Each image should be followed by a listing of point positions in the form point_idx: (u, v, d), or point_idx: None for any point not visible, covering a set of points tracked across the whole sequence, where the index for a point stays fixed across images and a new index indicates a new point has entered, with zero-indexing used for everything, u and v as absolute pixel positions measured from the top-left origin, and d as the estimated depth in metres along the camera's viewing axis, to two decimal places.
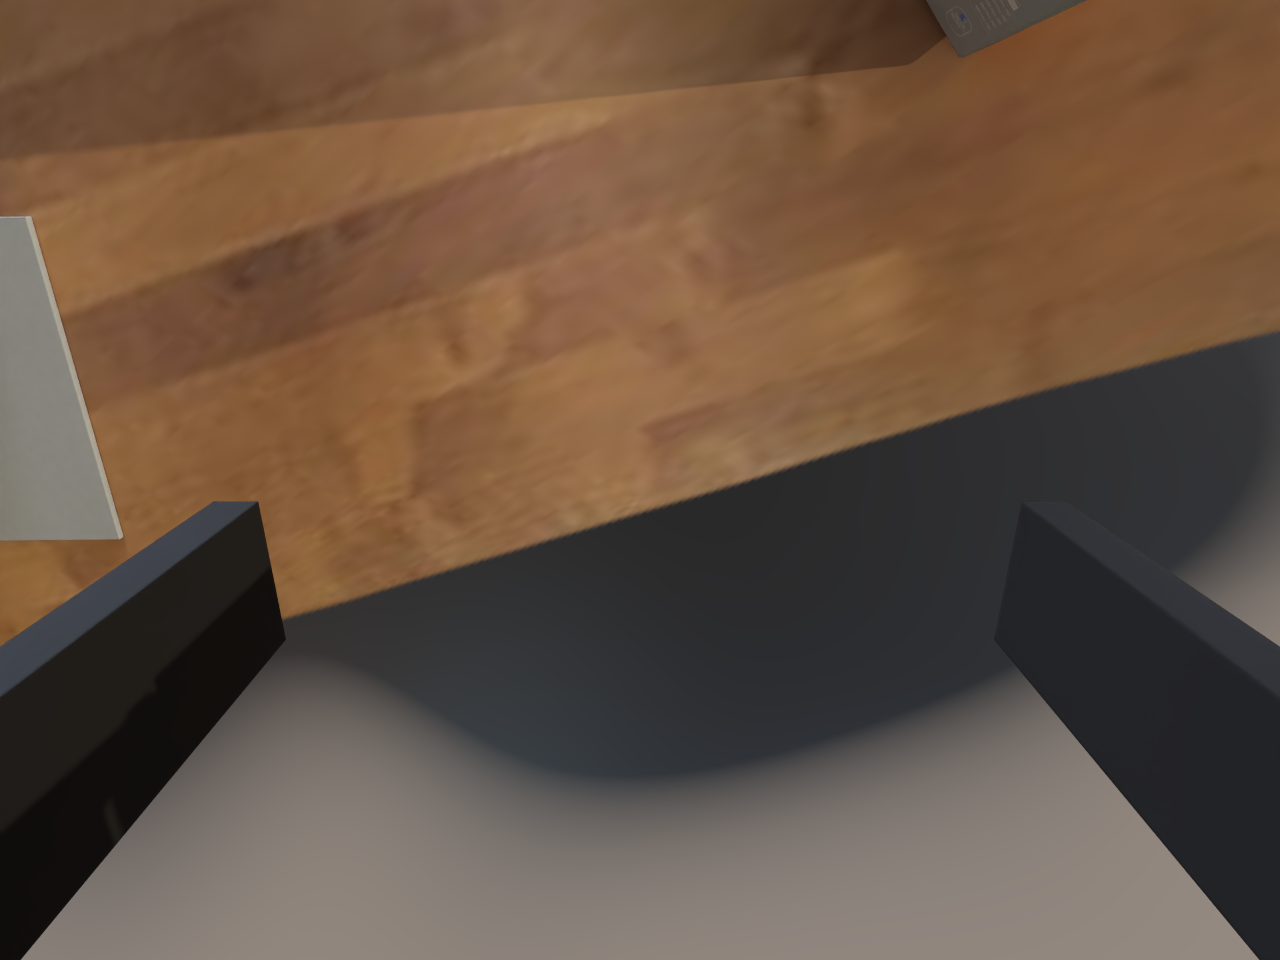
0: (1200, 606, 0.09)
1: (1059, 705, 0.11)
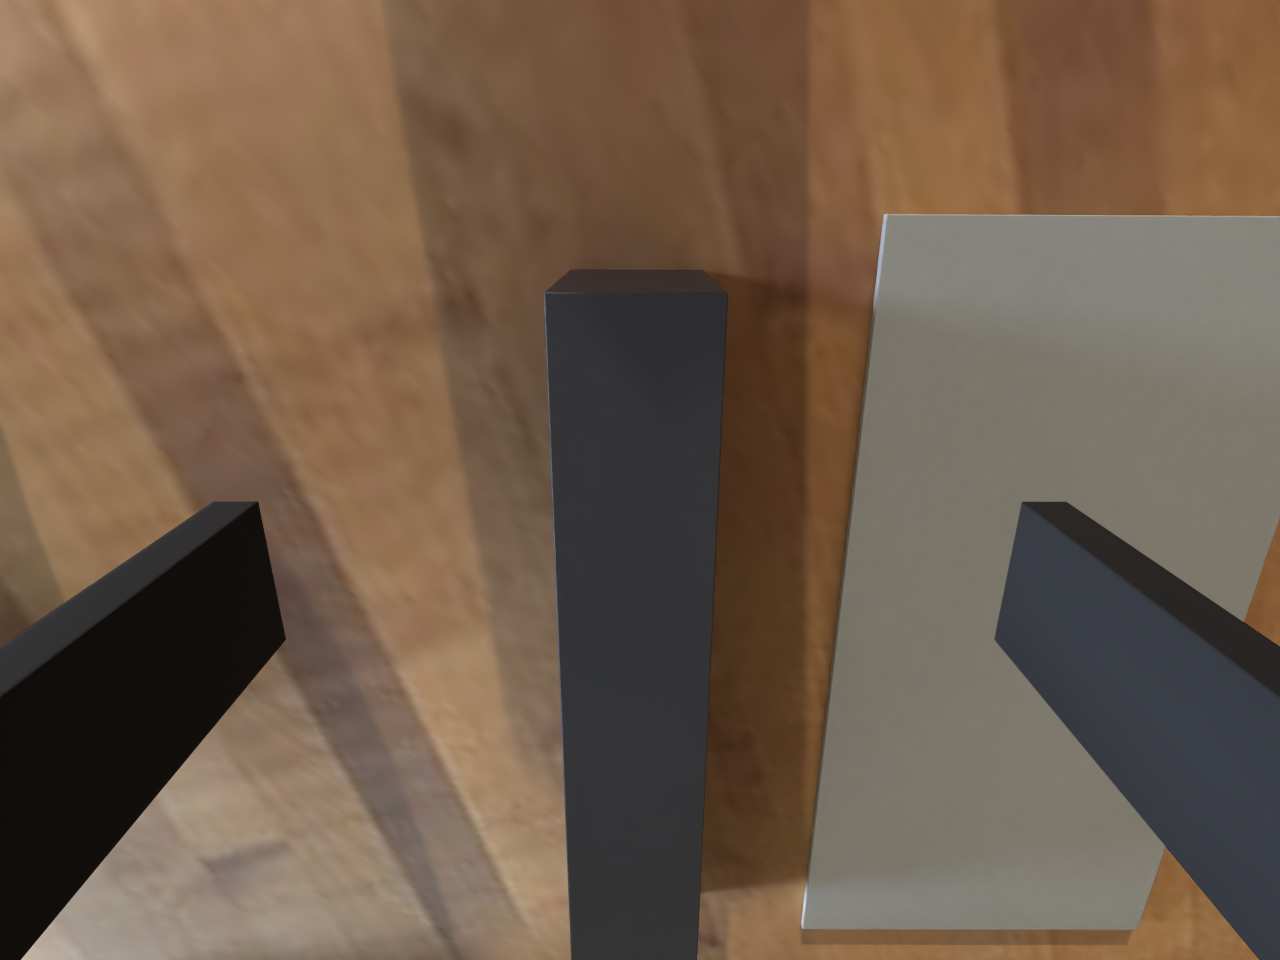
0: (1200, 606, 0.09)
1: (1059, 705, 0.11)
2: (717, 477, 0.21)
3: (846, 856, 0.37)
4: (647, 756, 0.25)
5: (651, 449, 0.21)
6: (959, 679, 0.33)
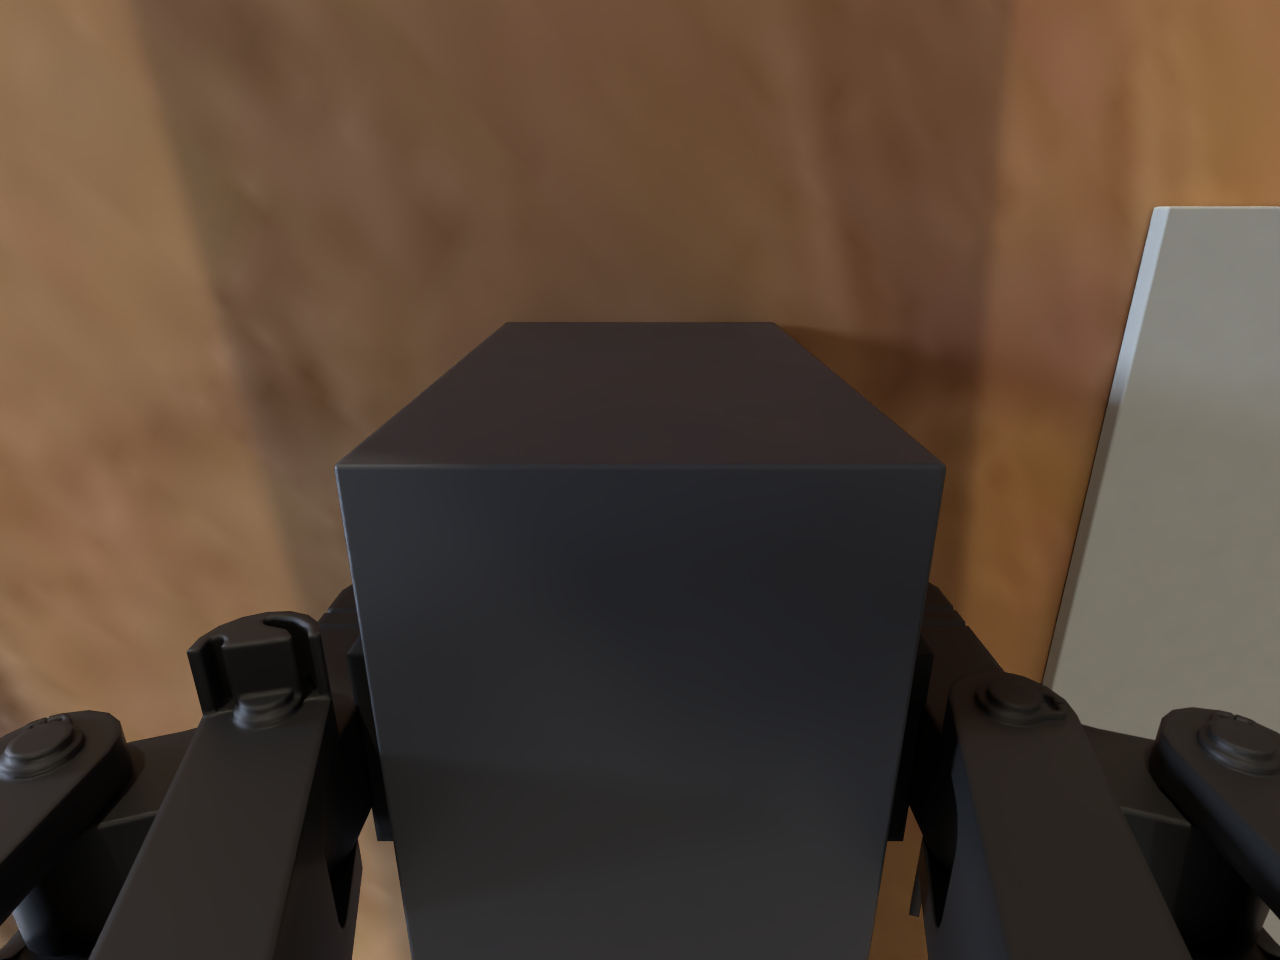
0: None
1: None
2: (867, 934, 0.08)
3: None
4: None
5: (686, 876, 0.07)
6: None
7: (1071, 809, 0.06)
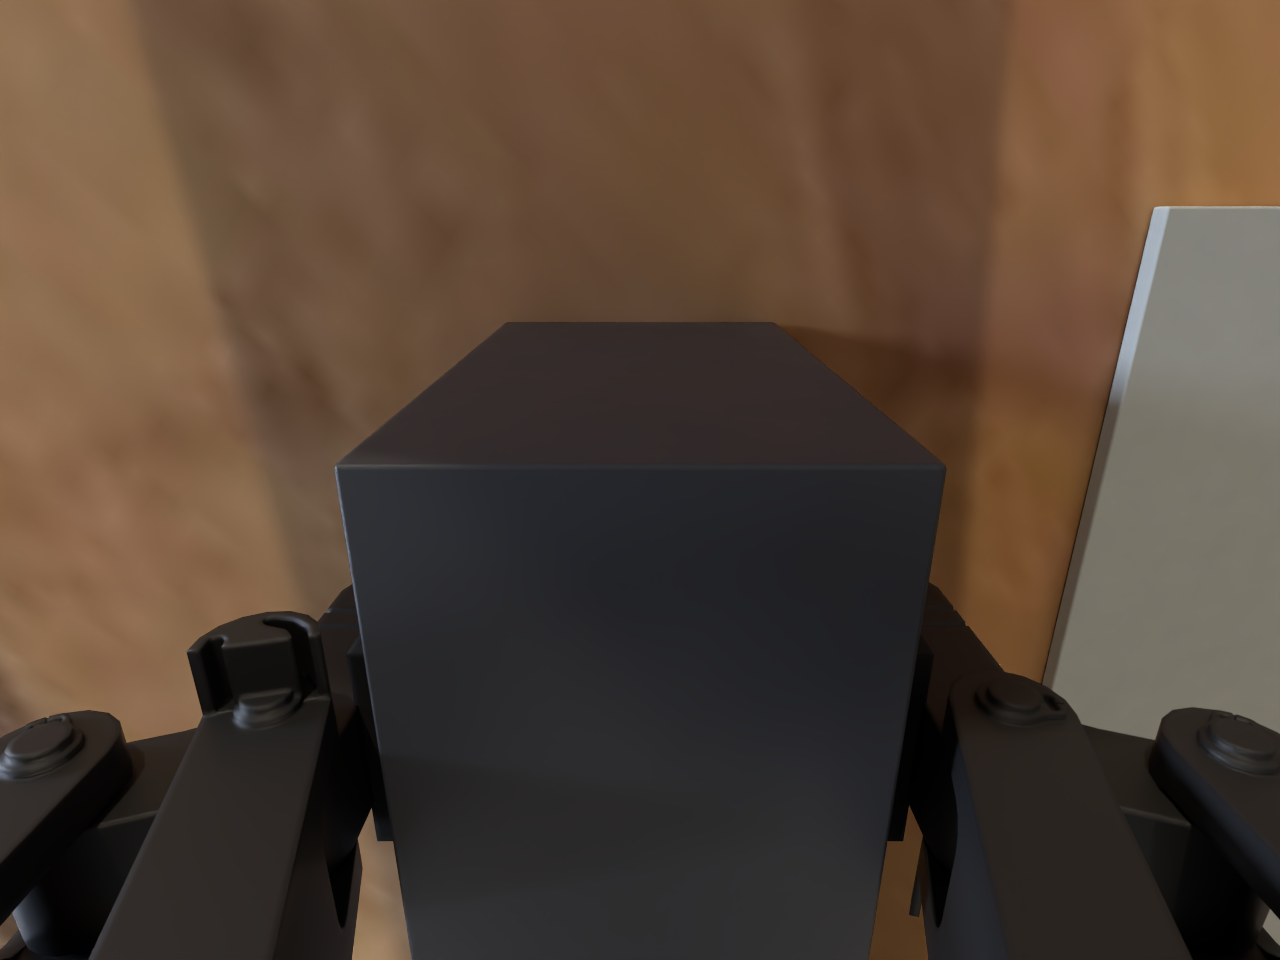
0: None
1: None
2: (867, 934, 0.08)
3: None
4: None
5: (686, 876, 0.07)
6: None
7: (1072, 809, 0.06)
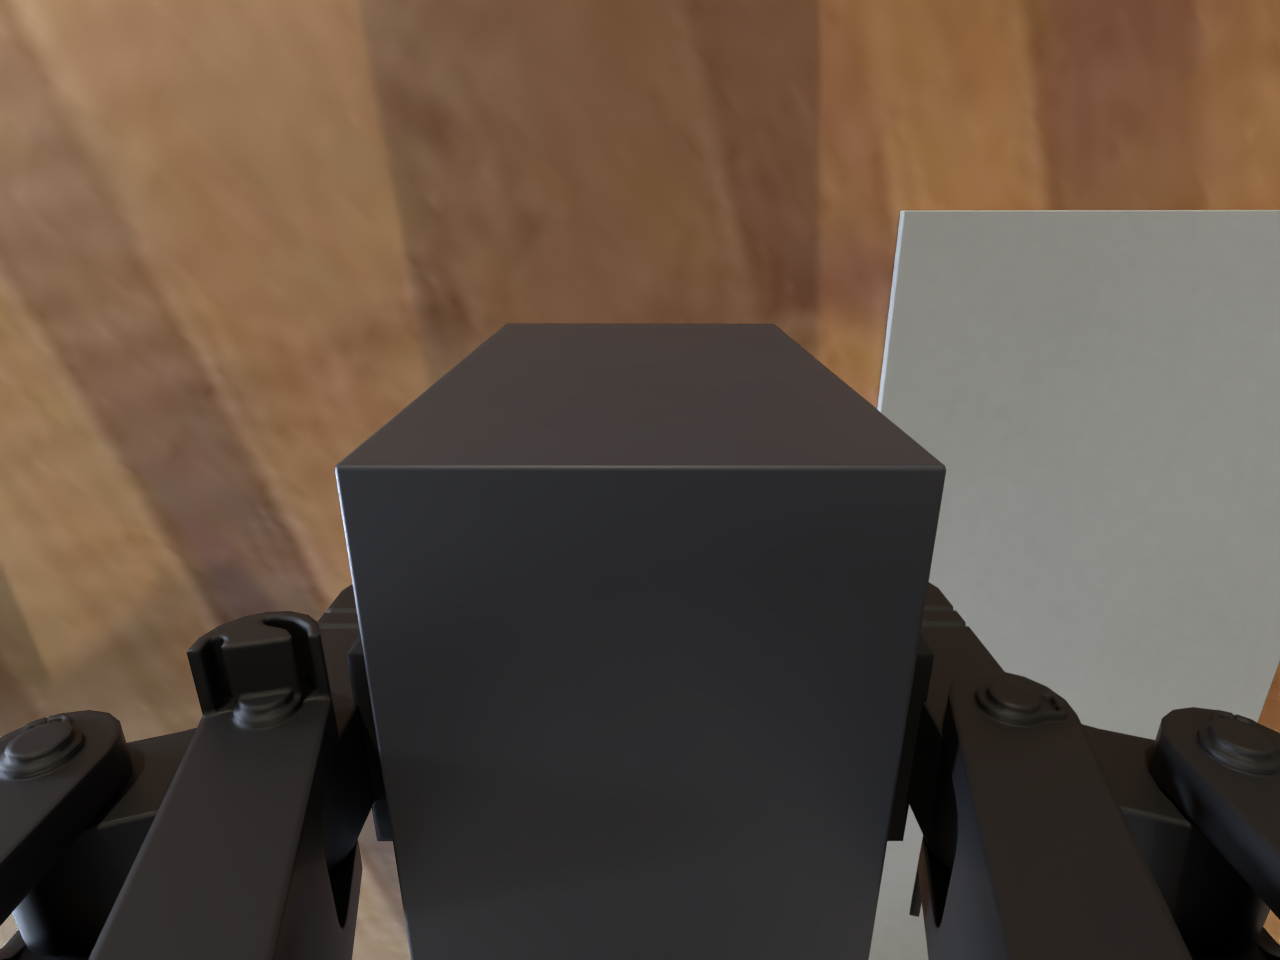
0: None
1: None
2: (867, 936, 0.08)
3: None
4: None
5: (686, 877, 0.07)
6: None
7: (1072, 810, 0.06)
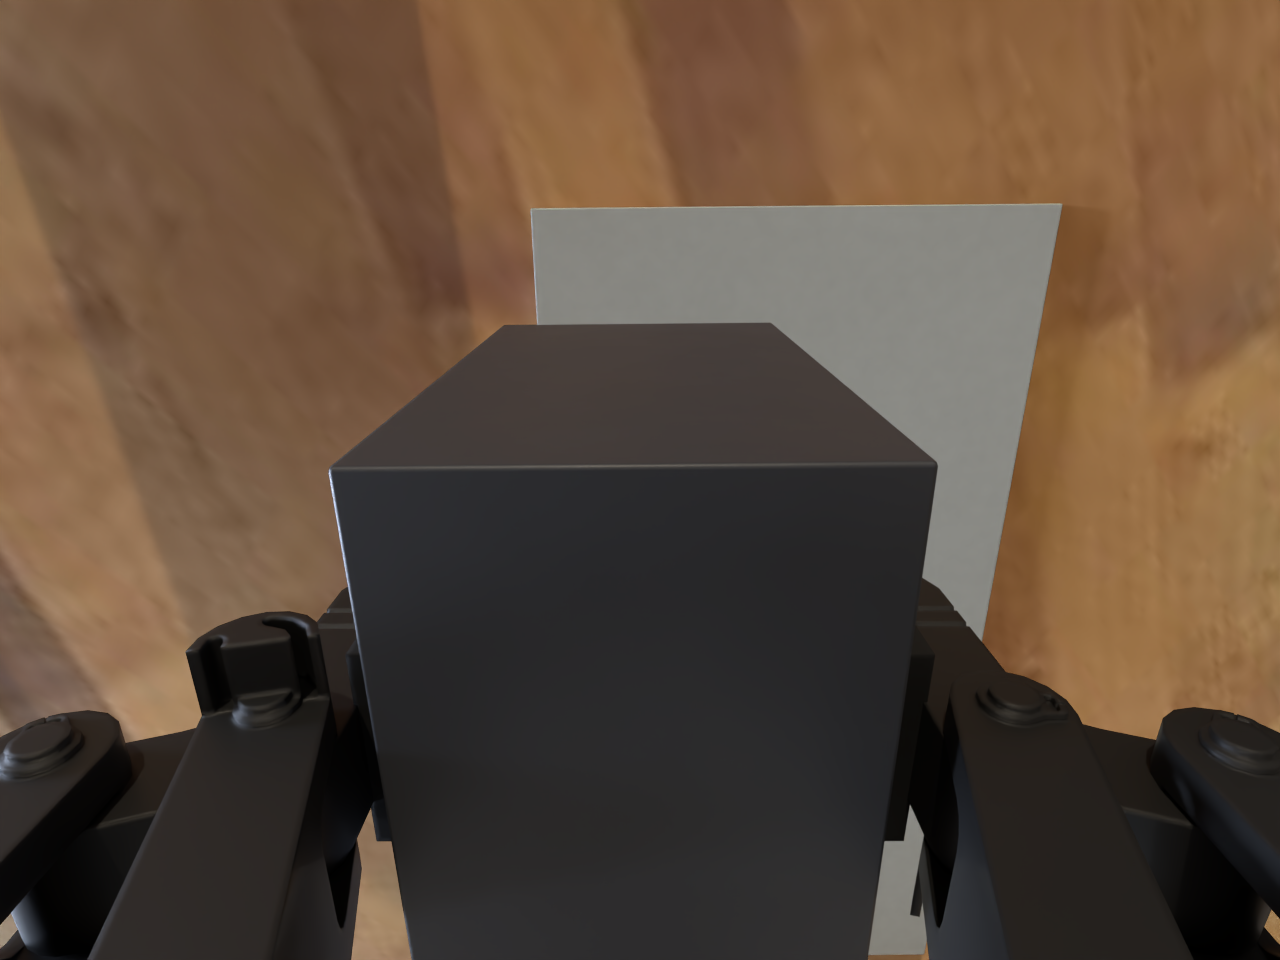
0: None
1: None
2: (866, 933, 0.08)
3: None
4: None
5: (684, 875, 0.07)
6: None
7: (1072, 809, 0.06)
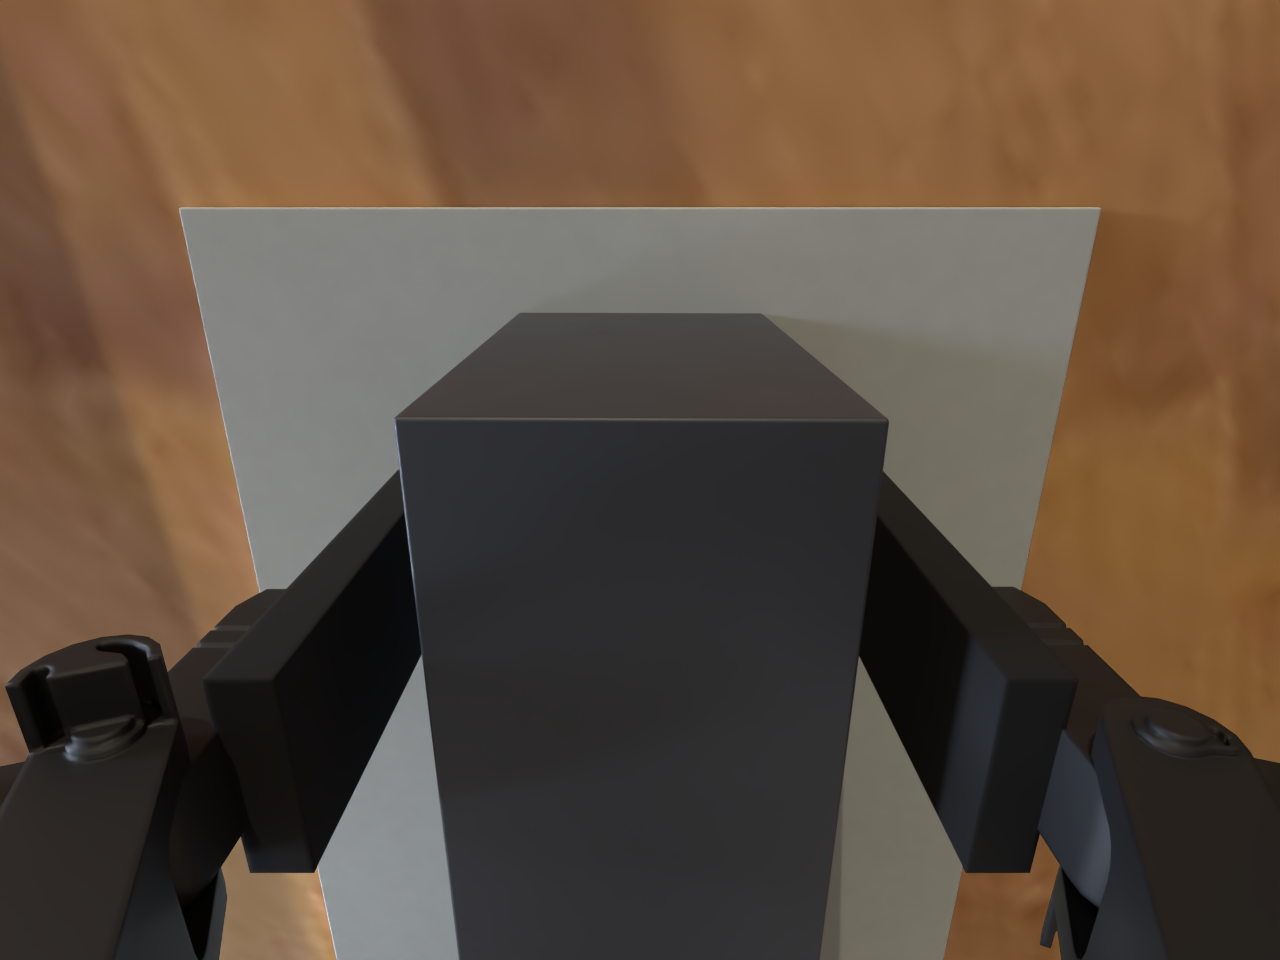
0: (940, 549, 0.10)
1: (860, 646, 0.12)
2: (832, 826, 0.09)
3: None
4: None
5: (679, 773, 0.09)
6: None
7: (1247, 850, 0.06)
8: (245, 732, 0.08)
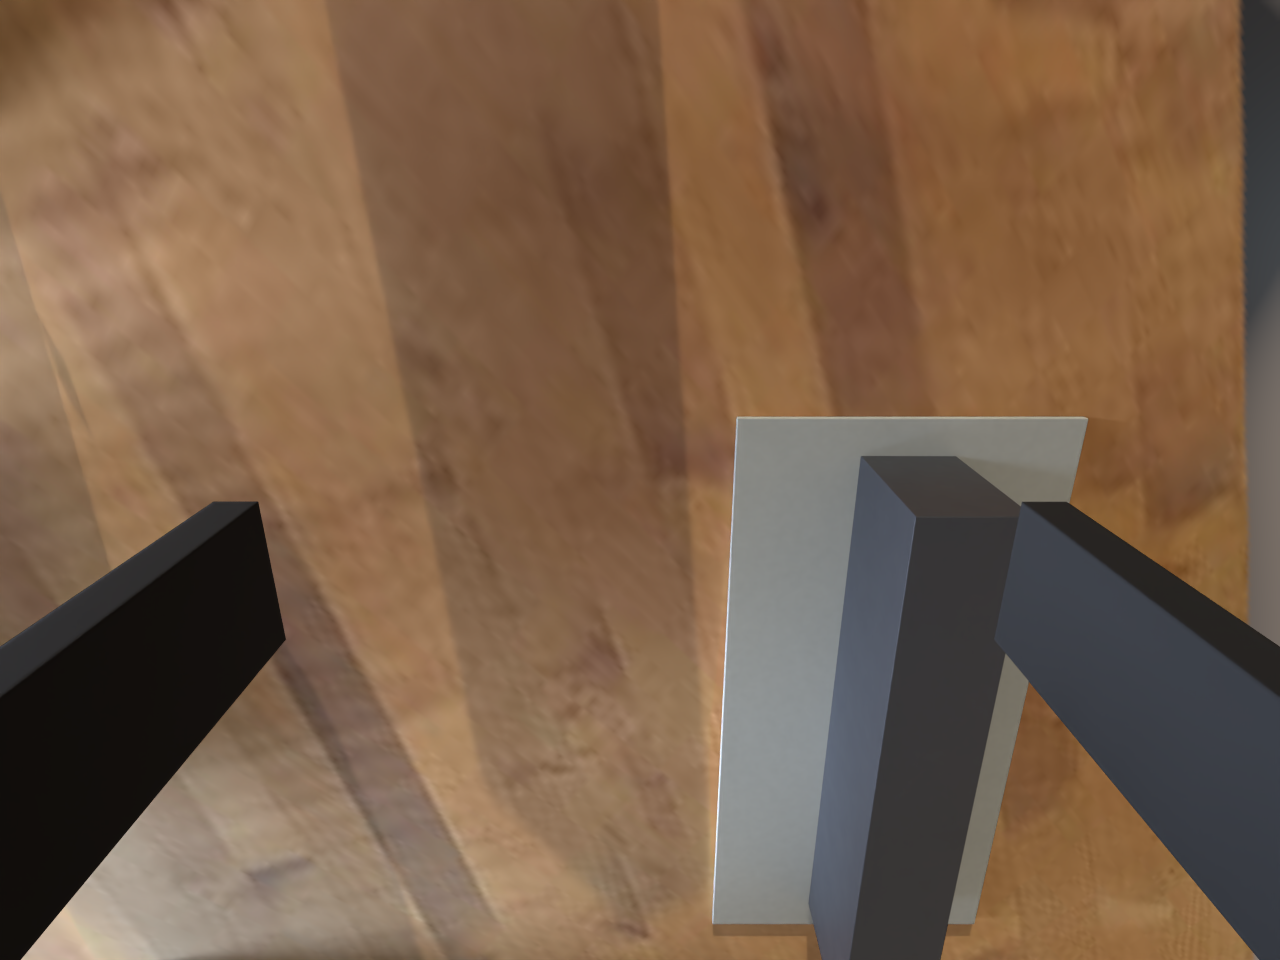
0: (1200, 606, 0.09)
1: (1059, 705, 0.11)
2: None
3: (742, 867, 0.48)
4: (931, 808, 0.35)
5: (969, 610, 0.32)
6: (817, 735, 0.44)
7: None
8: None
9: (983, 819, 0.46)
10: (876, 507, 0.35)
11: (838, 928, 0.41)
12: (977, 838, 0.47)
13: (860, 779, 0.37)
